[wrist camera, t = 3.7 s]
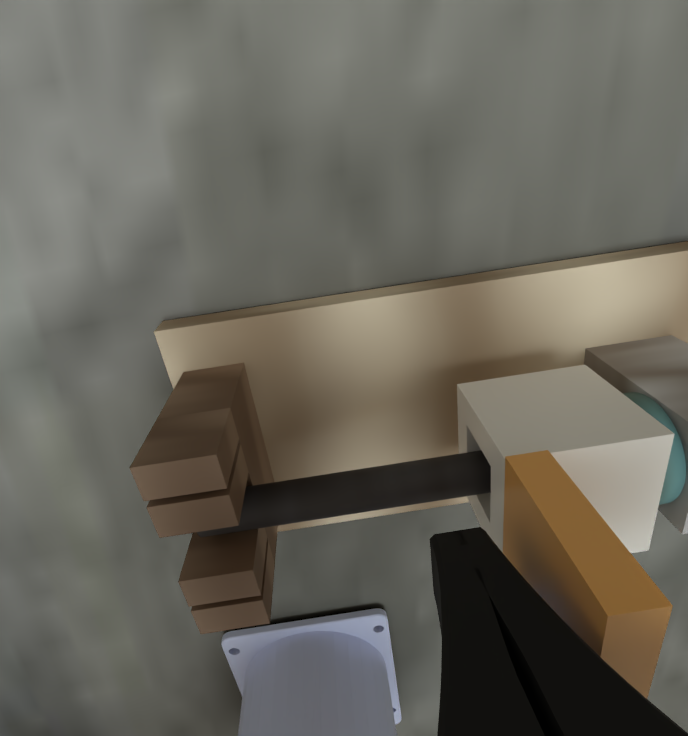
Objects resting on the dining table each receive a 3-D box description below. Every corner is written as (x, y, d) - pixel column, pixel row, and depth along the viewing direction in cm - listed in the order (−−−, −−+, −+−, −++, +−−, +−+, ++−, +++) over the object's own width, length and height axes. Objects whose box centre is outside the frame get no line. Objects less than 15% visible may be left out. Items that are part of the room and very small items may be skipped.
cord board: (228, 521, 19) (195, 678, 13) (162, 321, 15) (76, 423, 9) (651, 456, 19) (795, 584, 14) (695, 240, 15) (924, 293, 10)
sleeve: (459, 483, 16) (582, 752, 9) (456, 381, 14) (607, 616, 7) (574, 465, 16) (789, 720, 9) (585, 361, 14) (865, 575, 7)
